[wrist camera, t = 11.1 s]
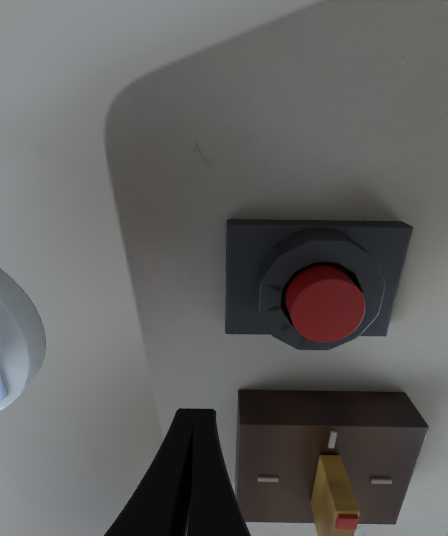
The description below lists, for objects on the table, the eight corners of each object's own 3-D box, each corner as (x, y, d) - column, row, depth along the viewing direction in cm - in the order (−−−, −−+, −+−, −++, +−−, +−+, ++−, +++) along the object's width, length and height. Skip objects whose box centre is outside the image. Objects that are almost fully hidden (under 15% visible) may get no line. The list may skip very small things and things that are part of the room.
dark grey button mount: (225, 323, 21) (225, 352, 18) (226, 218, 18) (226, 233, 15) (378, 326, 21) (401, 355, 18) (402, 221, 18) (434, 236, 15)
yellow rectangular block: (329, 502, 23) (347, 567, 20) (309, 502, 23) (324, 567, 20) (340, 454, 21) (362, 516, 18) (319, 454, 21) (337, 516, 18)
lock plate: (235, 482, 27) (235, 524, 24) (238, 389, 23) (239, 426, 20) (378, 484, 27) (396, 527, 24) (405, 392, 23) (431, 429, 20)
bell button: (282, 324, 18) (288, 342, 16) (288, 264, 16) (294, 278, 15) (347, 324, 18) (359, 343, 16) (358, 265, 16) (372, 279, 15)
